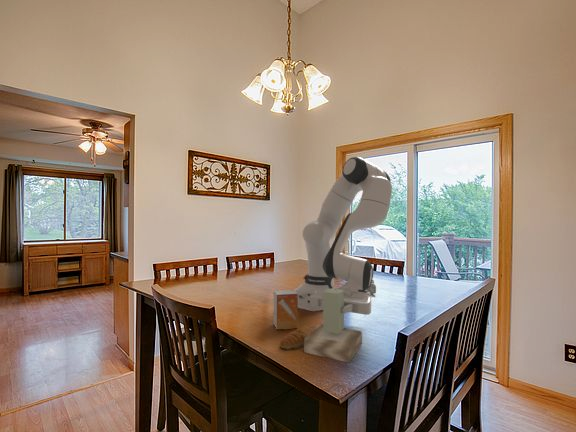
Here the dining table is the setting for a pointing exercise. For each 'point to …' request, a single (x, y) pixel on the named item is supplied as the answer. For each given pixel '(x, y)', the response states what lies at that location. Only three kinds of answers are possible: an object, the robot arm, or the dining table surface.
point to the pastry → (293, 340)
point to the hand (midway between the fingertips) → (332, 309)
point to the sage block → (333, 310)
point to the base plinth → (333, 343)
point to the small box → (286, 309)
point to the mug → (372, 288)
